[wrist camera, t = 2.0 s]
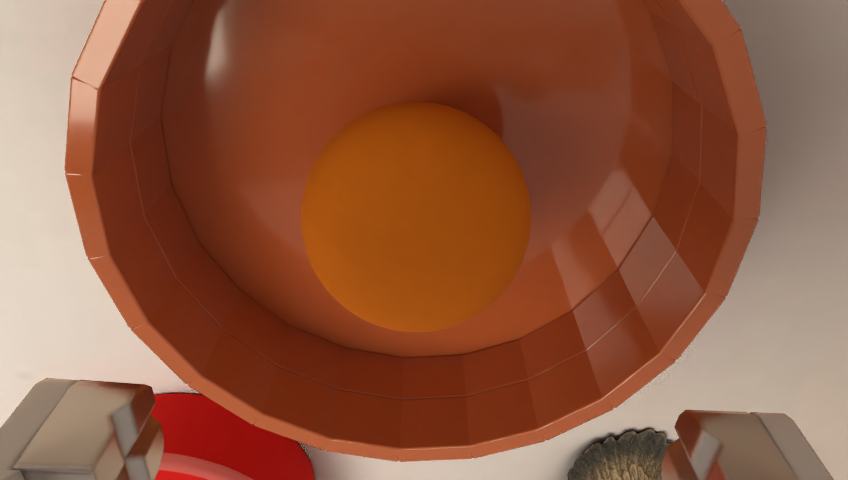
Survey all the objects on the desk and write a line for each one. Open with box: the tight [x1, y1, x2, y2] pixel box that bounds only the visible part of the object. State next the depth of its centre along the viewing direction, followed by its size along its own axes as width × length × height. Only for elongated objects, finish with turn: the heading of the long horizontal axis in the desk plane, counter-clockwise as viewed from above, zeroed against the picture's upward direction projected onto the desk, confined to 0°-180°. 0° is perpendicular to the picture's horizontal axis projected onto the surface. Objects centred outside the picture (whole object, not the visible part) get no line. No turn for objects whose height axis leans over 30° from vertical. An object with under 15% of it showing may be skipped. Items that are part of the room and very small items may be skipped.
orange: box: [301, 102, 531, 332], centre depth 15 cm, size 6×6×6 cm
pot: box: [65, 0, 766, 462], centre depth 16 cm, size 16×16×4 cm
